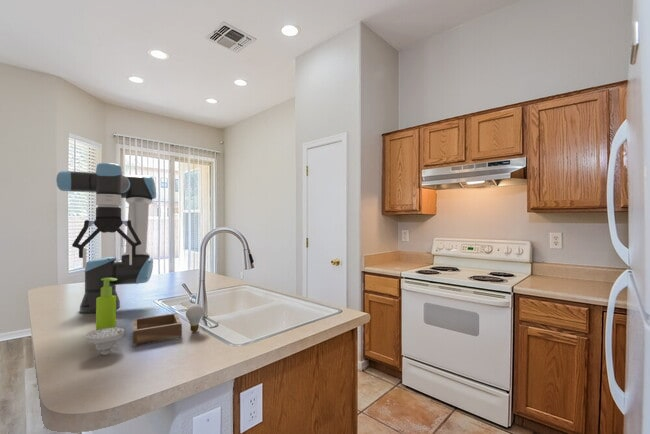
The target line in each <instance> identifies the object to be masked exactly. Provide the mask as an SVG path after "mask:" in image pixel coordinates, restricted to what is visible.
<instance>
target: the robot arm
mask: <svg viewBox="0 0 650 434" xmlns="http://www.w3.org/2000/svg"><path fill="white" fill-rule="evenodd" d="M55 178H56V180H55V181H56V186H57V188H58V190H60V191H62V192H71V193H72V192H77V193H79V192H81V193H95V205H96V207H95V220H88V219H86V220H84V224H83V227H82V228H81V230H80V232H79V233H78V234H77V237H76V238H75V240H74V241H73V243H72V244H71V247H73V248H77V249H78V258H79V259H82V269H84V295H83V297H82V300H81V302H80V305H79V312H80V313H82V314H96V298H98V297H101V288H102V287H104V280H101V279H103V278H116V279H118V280H116V281H110V280H109V286H111V287H112V295H114V296H116V309H118V308H120V306H121V300H120V297H119V295H118V293H117V288H116V287H117V286H118V285H120V286H121V285H139V284H145V283H148V282H149V281H150V279H151V276H152V273H153V267H154V259H152V258H151V257H150V254H149V253H148V252H147V245H148V227H149V226H148V225H149V210H150V209H149V208H150V207H149V206H150V205H151V204H152V203H153V200H156V199H157V189H156V188H157V187H156V183H155V180H154V178H153V177H152V176H151V175H144V174H143V175H142V174H141V175H137V174H123V172H122V166H121V165H119V164H117V163H113V162H111V163H110V162H100V163H97V164H96V170H95V172H92V171H91V172H90V171H75V170H73V171H72V170H61V171H59V172H58V173H57V175H56V177H55ZM122 199H125V202H127V204H128V211H127V212H128V213H127V214H128V216H127V220H122V208H121V206H122ZM93 225H94V226H95V227H96V229H95V230H94V231H93V232H92V233H91V234H90V235H89V236H88V237H87V238H86V239H85V240H84V241H83V242H82V243H80V242H81V240H82V239H83V237H84V236H85V234H86V233H87V230H88V229H89V227H92V226H93ZM122 225H124V226H125V227H127V229H126V233H125V232H124V231H123V230H122V229H121V228H120V227H121V226H122ZM100 232H101V233H102V234H103V233H104V234H105V233H111V234H112V233H116V232H117V233H118V234H119V235H120V236H121V237H122V238H123V239H124V240H125V241H126V243H125V251H124V253H122V254H121V259H117V257H116V256H107V257H102V258H95V259H90V260H88V261H87V248H85V247H86V246H87V245H88V244H89V243H90V242H91V241H92V240H93V239H94V238H95V237H97V235H98V234H99V233H100Z"/></svg>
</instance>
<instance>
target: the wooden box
mask: <svg viewBox="0 0 650 434" xmlns="http://www.w3.org/2000/svg"><path fill="white" fill-rule="evenodd" d="M182 324H183V323H182V320H181V319H180V317H179V314H178V313H177V312H175V313H167V314H160V315H152V316H146V317H139V318H133V319H132V347H133V348H134V347H139V346H145V345H151V344H155V343H156V344H157V343H161V342H167V341H172V340H179V339H183V338H182V337H183V334H182V333H183V332H182V331H183V329H182V327H183V326H182Z"/></svg>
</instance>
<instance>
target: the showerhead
mask: <svg viewBox="0 0 650 434" xmlns="http://www.w3.org/2000/svg"><path fill="white" fill-rule="evenodd" d="M124 335H125V329H124V328H121V327H116V328H115V327H114V328H111V327H110V328H105V329H100V330H96V329H95V330H93V331H92V332H90V333H88V334H86V342H87V343H89V344H95V349H96V350H97V351H100V354H101V356H106V355H108V354H110V353H111V352H110V351H111V349H112V348H113V347H115V346H116V340H118V339H120V338H122V337H123V336H124Z"/></svg>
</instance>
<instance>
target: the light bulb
mask: <svg viewBox="0 0 650 434" xmlns="http://www.w3.org/2000/svg"><path fill="white" fill-rule="evenodd" d="M203 315H204V309H203V307H202V305H200V304H198V303H193V304H191V305H189V306H188V307H187V309H186V311H185V316H186V317H185V318H187V320H188V322H189V325H190V331H191V332H193V333H196V332H198V330H199V327H200V326H199V325H200V321H201V320H202V317H203Z"/></svg>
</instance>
